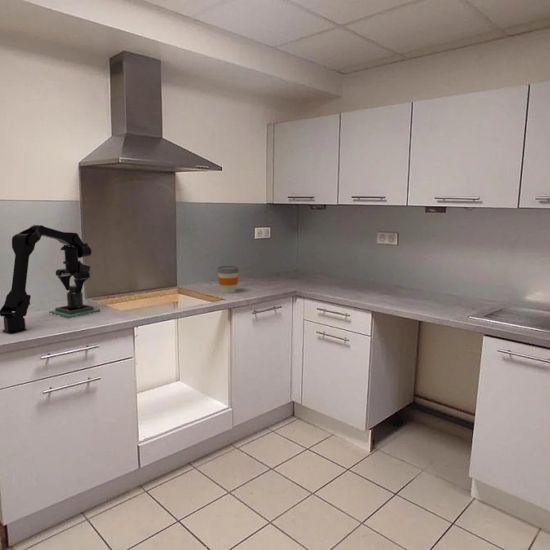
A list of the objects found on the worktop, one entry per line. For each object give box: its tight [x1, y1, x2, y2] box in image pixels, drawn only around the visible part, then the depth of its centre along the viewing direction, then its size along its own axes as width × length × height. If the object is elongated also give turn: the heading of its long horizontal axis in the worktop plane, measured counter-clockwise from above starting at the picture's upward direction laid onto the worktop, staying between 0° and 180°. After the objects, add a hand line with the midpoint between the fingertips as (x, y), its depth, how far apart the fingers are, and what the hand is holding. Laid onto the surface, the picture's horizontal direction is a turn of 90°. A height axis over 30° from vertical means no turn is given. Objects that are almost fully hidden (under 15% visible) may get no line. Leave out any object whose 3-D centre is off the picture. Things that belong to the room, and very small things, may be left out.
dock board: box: [48, 303, 101, 319], centre depth 206 cm, size 16×16×2 cm
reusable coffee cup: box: [217, 265, 239, 294], centre depth 259 cm, size 13×13×15 cm
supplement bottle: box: [66, 284, 84, 311], centre depth 205 cm, size 7×7×12 cm
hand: (73, 291), depth 205 cm, fingers open, 9 cm apart
